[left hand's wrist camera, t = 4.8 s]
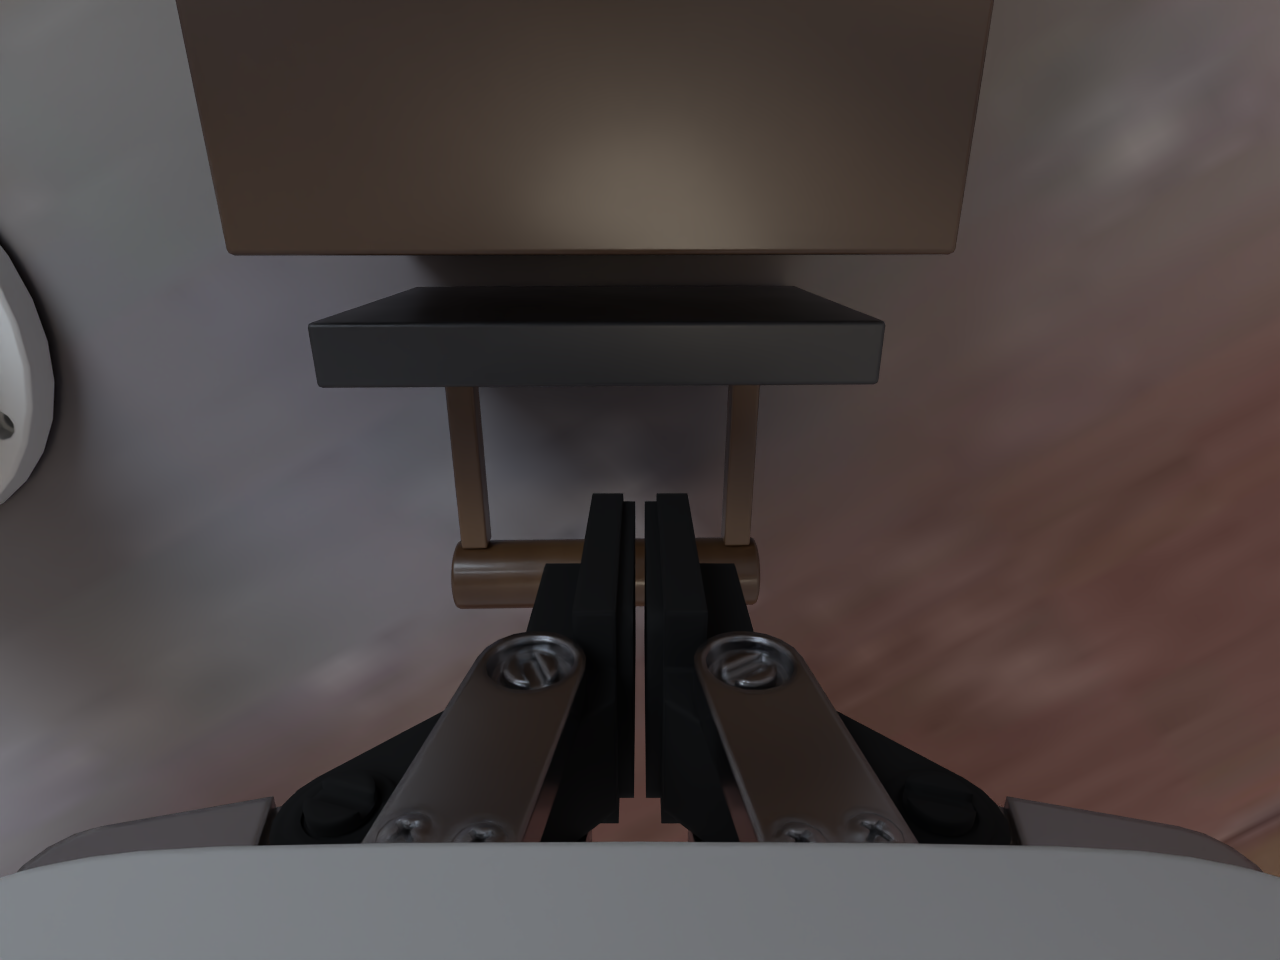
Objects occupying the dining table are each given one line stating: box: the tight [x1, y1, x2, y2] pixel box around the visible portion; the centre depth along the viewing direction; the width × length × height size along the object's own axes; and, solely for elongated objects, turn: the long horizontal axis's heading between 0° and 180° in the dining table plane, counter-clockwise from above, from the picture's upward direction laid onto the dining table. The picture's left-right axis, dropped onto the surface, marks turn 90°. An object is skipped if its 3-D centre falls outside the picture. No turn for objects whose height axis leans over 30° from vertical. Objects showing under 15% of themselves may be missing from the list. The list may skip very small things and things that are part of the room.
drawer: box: [308, 286, 885, 609], centre depth 14 cm, size 22×11×7 cm, turn 0°
